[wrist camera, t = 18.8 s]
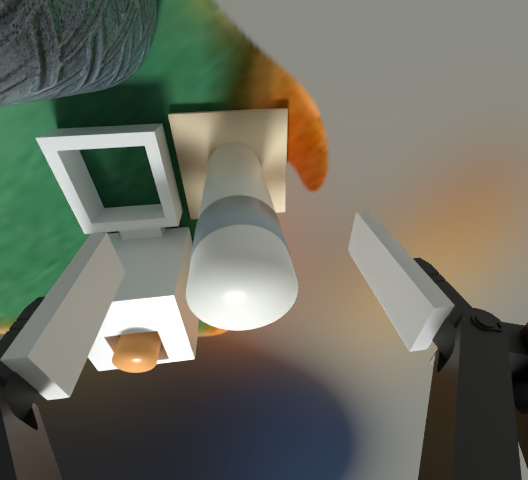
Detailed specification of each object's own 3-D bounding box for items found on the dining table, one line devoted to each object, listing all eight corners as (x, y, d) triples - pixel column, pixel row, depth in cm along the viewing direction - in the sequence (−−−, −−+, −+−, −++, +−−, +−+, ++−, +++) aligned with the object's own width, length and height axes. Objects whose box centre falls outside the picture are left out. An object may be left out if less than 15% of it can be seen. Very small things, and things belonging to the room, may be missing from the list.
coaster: (169, 113, 22) (167, 114, 21) (286, 107, 23) (287, 108, 22) (191, 216, 28) (190, 219, 27) (284, 209, 28) (285, 211, 28)
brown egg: (127, 297, 26) (105, 352, 21) (164, 293, 26) (150, 346, 22) (138, 319, 28) (120, 374, 23) (172, 316, 28) (161, 369, 24)
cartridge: (202, 143, 23) (172, 256, 10) (259, 140, 23) (302, 244, 10) (211, 196, 26) (196, 336, 13) (261, 192, 26) (296, 324, 13)
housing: (53, 128, 21) (-51, 172, 13) (165, 123, 22) (130, 161, 14) (130, 293, 33) (98, 371, 25) (202, 285, 33) (194, 359, 25)
